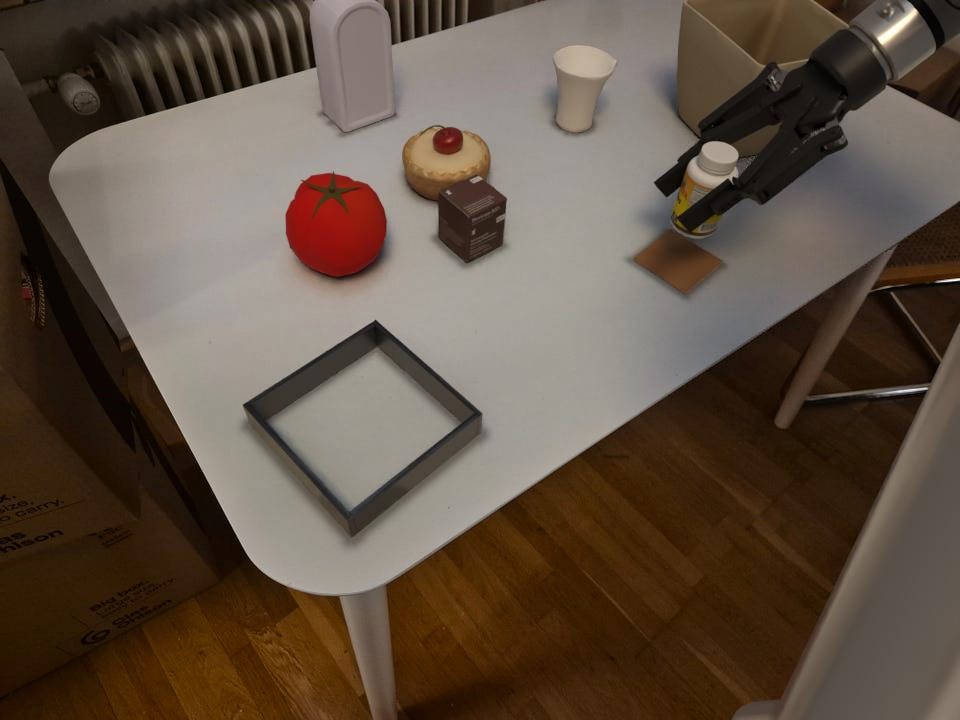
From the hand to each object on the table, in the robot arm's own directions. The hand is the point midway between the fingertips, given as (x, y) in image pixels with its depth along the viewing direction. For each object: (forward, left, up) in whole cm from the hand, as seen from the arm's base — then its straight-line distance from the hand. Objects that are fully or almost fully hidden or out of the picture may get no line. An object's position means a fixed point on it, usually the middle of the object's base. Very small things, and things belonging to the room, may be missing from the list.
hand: (671, 207), depth 76 cm
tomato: (+26, +28, -9) cm, 39 cm away
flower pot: (+9, -34, -9) cm, 37 cm away
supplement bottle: (-2, -3, -4) cm, 5 cm away
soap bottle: (+49, +7, -9) cm, 51 cm away
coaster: (-2, -3, -9) cm, 10 cm away
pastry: (+29, +8, -9) cm, 32 cm away
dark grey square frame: (+5, +41, -9) cm, 42 cm away
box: (+18, +14, -9) cm, 25 cm away
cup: (+27, -17, -9) cm, 33 cm away
